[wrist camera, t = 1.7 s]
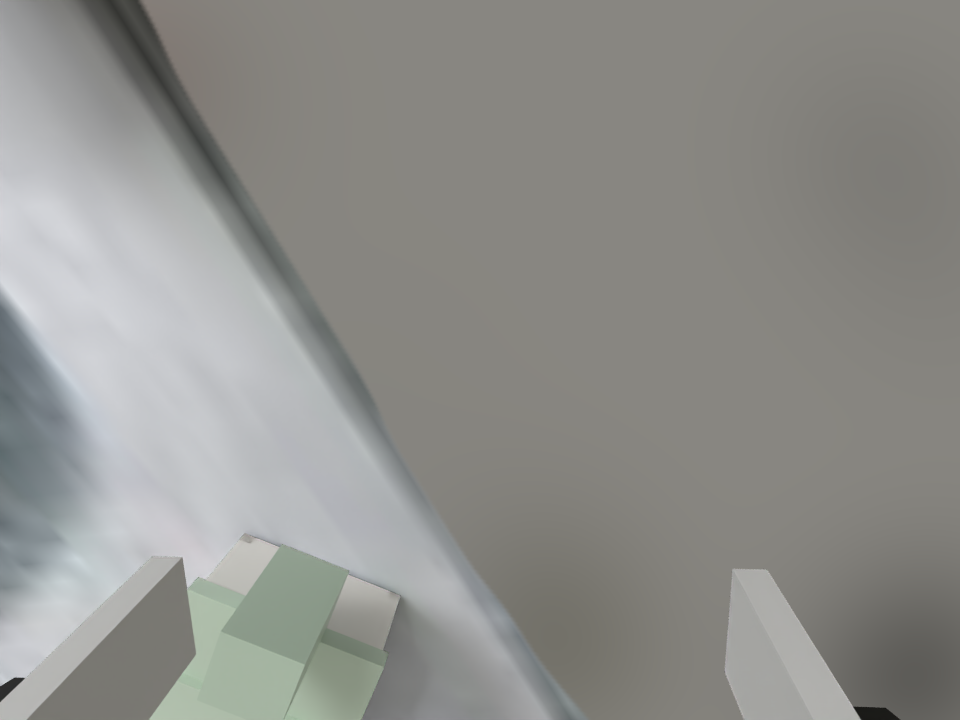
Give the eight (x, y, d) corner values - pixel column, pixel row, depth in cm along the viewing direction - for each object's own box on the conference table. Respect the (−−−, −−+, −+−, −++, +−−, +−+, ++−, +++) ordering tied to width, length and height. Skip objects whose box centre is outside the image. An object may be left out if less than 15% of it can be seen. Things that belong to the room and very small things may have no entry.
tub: (181, 717, 48) (132, 790, 42) (244, 533, 43) (200, 586, 38) (324, 773, 48) (295, 853, 42) (400, 595, 44) (380, 657, 38)
